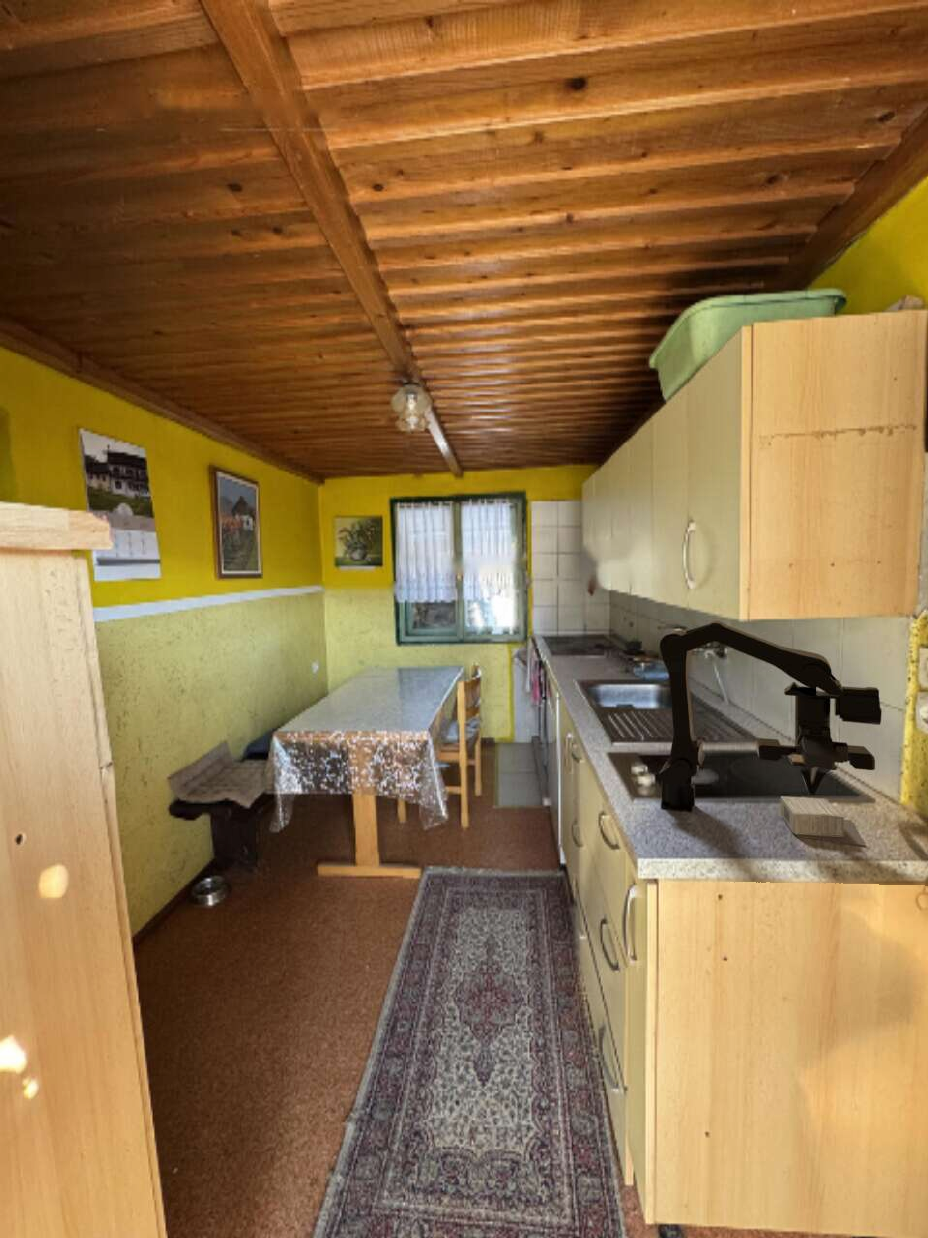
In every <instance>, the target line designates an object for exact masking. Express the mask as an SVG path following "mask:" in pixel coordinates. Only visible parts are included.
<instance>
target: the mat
mask: <svg viewBox="0 0 928 1238" xmlns="http://www.w3.org/2000/svg"><path fill="white" fill-rule="evenodd" d="M861 836H862V835H861V834H860V833H859V831H858V830H857V827H856V825H855V824H854V822H853V820H850V819H844V837H829V836H814V835H800V834H795V837H797V838H804V839H810V840H811V839H812V840H817V841H822V842H831V843H838V844H845V845H849V846H856V847H862V848H863V847H864V848H866V847H867V845H866V844H865V841H864V840H863V838H862V837H861Z"/></svg>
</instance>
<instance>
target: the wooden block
mask: <svg viewBox="0 0 928 1238" xmlns="http://www.w3.org/2000/svg"><path fill="white" fill-rule="evenodd" d="M780 816H781V818H782V819H783V820H784V822H785V824H786V825H787V827H788V828H789V829H790V831H791V833H793V834H794V835H796V834H800V835H814V836H829V837H844V820H845V819H844V818H845V817H844V816H843V815H842V814H841V813H840V812H839V811H838V810H837V809H836V808H835V806H834V805H833V804H831V803H830V802H829V800H828V799H827V798H821V797H820V798H817V797H804V796H803V797H801V796H800V797H799V796H784V795H781V796H780Z"/></svg>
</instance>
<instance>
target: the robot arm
mask: <svg viewBox="0 0 928 1238" xmlns="http://www.w3.org/2000/svg"><path fill="white" fill-rule="evenodd" d="M714 642H716V643H718V644H721V645H723V646H726V647H728V648H730V649H733V650H735V651H738V652H740V653H742V654H746V655H747V656H750V657H752V658H755V659H757V660H760V661H763V662H764V663H767V664H770V665H772V666H774V667H776V668H777V669H778V670H780V671H782V672H783V673H784V674H786V675H787V676H788V677H790V678H791V679H794V681H792V682H791V684H790V685H788V686H787V687H785V688H784V693H783V694H784V695H785V696H790V697H793V696H794V702H795V703H794V745H787V744H786V745H784V744H781V743H780V740H779V739H778V738H766V737H765V738H763V737H758V739H756V743H755V744H756V748H755V750H756V753H757V756H758V759H759V760H763V761H772V762H779V760H781V759H782V756H787V757H788V760H789V762H790V764H791V766H793V767H797V768H798V769H799V771H800V773H801V775H802V779H803V781H804V785H805V787H806V789H807V790H806V791H807V792H808V795H809V796H815V795H816V793H817V790H818V788H819V787H820V785H821V782H822V781H823V778H825V776H826V775H827V773H829V772H830V771H837V769H838V767H837V766H836V763H838V764H843V763H849V765H850V766H851V767H853V768H854V769H855V770H856V769H857V770H866V771H873V770H876V760H875V756H874V755H873V754H872V753H871V751H869V750H868V749H867V748H866V747H865V746H864V745H854V744H853V745H852V744H848V743H847V742H843V741H841V742H840V741H833V739H832V736H831V735H832V732H831V706H832V705H831V704H832V703H831V701H832V700H834V703H833V704H834V705H833V707H834V716H837V717H839V719H841V722H843V723H854V724H855V723H856V724H864V725H865V724H866V725H877V726H880V725H881V722H882V714H883V713H882V708H881V701H880V690H879V689H878V687H875V686H874V687H871V686H866V687H857V686H842V684H841V681H840V680H839V679H837V678H836V676H834V674H833V673H832V667H831V664H830V662H829V661H828V659H827V658H826V657H825V656H824V655H822V654H819V653H815V652H812V651H807V650H802V649H798V648H797V649H796V648H790V647H785V646H782V645H779V644H777V643H774V642H771V641H770V640H769V641H768V640H765V639H763V638H760V637H758V636H755V635H754V634H751V633H748V632H746V631H743V630H740V629H737V628H735V627H732V626H730V625H728V624H726V623H724V622H722V621H721V620H713V621H711V622H709V623H707V624H705V625H701V626H698V627H695V628H692V629H689V630H686V631H684V630H680V629H676V630H673V631H670V632H669V633H667V634H666V635H665V636H663V637H662V639H660V642H659V651H660V655H661V658H662V659H661V660H662V662H663V665H664V666H665V669H666V671H667V673H668V681H669V682H668V683H669V694H670V695H669V696H670V706H671V707H670V708H671V719H672V731H673V735H672V736H673V737H672V742H671V747H670V753H669V759H667V761H666V762H665V764H664V765H663V766H662V769H661V770H660V772H659V773H658V776H659V778H660V782H661V783H660V785H661V801H660V808H661V809H668V810H674V811H682V812H688V813H692V812H693V807H695V806H696V802H695V800H696V793H695V792H696V790H695V789H696V787H695V786H696V785H695V784H694V783H693V779H692V778H693V777H694V776H695V775H696V774H697V772H698V769H699V767H701V766H702V765H703V764H702V763H703V762H704V759H705V757H706V756H705V753H704V750H703V748H704V747H703V746H704V739H697V736H696V734H695V733H694V726H693V725H694V723H693V712H692V711H693V710H692V699H691V686H690V676H689V675H690V673H689V672H690V671H689V670H690V664H691V659H692V653H693V650H695V649H697V648H700V647H703V646H706V645H708V644H712V643H714ZM796 681H797V682H798V683H800V684H802V686H801V685H799V684H798V683H797V682H796ZM817 688H818V689H819V690H817ZM820 690H821V691H820ZM831 699H832V700H831Z"/></svg>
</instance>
